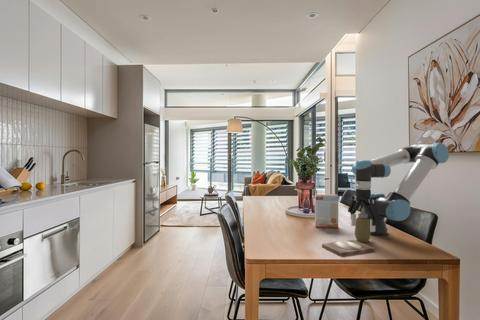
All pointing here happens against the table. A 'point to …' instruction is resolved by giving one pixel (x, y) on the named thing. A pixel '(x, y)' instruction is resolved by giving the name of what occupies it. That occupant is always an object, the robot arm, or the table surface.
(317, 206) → the cracker box
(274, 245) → the table surface
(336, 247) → the walnut board
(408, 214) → the robot arm
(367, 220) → the squeeze bottle
